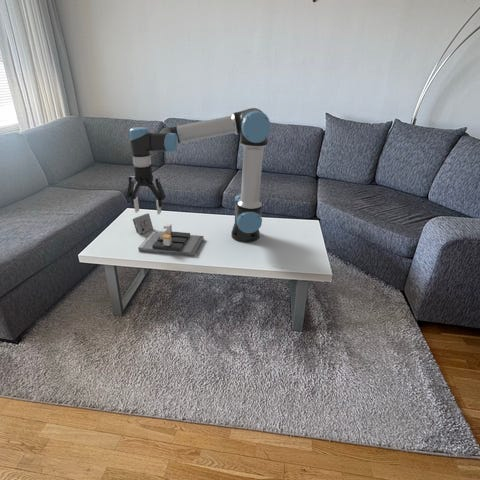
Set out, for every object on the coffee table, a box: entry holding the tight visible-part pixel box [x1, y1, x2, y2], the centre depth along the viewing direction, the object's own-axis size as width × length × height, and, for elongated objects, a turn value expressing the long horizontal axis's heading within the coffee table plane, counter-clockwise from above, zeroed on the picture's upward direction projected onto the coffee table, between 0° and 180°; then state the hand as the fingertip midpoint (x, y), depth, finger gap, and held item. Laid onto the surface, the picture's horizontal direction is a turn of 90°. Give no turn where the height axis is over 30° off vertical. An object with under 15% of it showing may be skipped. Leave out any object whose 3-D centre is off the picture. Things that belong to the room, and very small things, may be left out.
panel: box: [137, 231, 205, 258], centre depth 166 cm, size 28×18×4 cm, turn 81°
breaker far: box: [163, 223, 173, 234], centre depth 170 cm, size 3×3×4 cm
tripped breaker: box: [163, 234, 172, 246], centre depth 159 cm, size 3×3×4 cm
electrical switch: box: [132, 213, 154, 235], centre depth 179 cm, size 9×5×9 cm, turn 141°
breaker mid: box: [158, 227, 168, 239], centre depth 165 cm, size 3×3×4 cm
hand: (148, 212), depth 154 cm, fingers open, 10 cm apart
